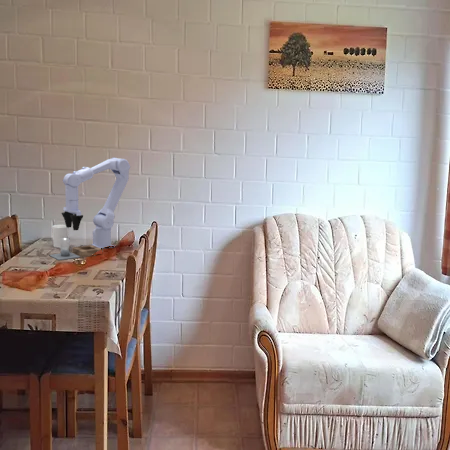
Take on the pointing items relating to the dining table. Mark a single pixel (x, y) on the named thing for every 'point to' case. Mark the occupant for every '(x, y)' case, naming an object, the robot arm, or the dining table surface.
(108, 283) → the dining table surface
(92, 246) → the socket block
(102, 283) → the dining table surface
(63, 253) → the steel peg
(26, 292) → the dining table surface
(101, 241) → the robot arm
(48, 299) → the dining table surface
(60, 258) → the slate mat
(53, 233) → the white cup
